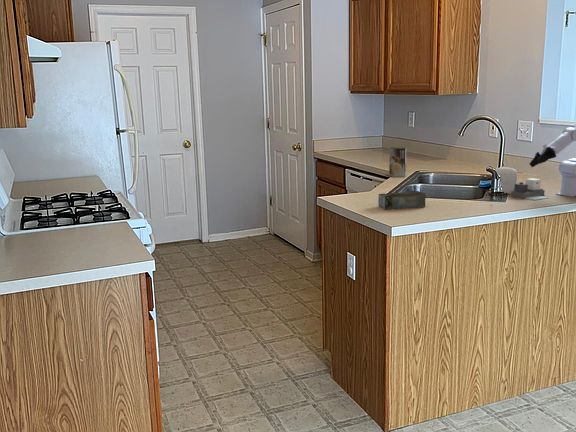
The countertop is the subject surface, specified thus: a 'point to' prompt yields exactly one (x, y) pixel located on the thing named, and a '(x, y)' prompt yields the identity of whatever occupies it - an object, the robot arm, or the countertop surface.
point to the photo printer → (507, 178)
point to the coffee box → (397, 162)
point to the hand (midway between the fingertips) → (534, 163)
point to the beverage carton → (401, 200)
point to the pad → (536, 197)
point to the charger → (533, 183)
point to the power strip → (528, 194)
